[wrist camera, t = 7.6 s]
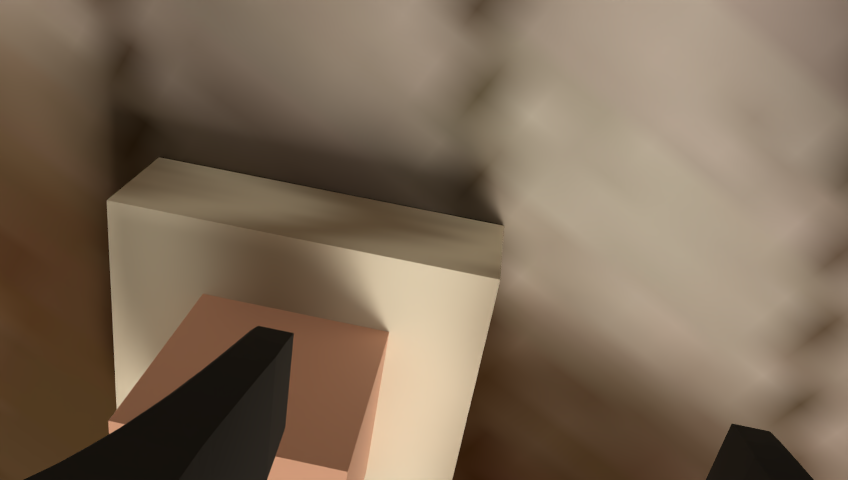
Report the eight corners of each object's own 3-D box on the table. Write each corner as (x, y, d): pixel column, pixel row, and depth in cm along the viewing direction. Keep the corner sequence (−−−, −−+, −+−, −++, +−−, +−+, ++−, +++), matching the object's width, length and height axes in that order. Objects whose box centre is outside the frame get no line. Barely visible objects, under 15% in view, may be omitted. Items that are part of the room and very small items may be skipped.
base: (504, 225, 21) (500, 280, 18) (444, 482, 26) (434, 554, 23) (159, 157, 22) (106, 200, 19) (161, 421, 26) (120, 486, 24)
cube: (389, 332, 20) (348, 471, 15) (366, 471, 22) (324, 627, 18) (202, 293, 20) (108, 420, 15) (200, 435, 22) (117, 581, 18)
